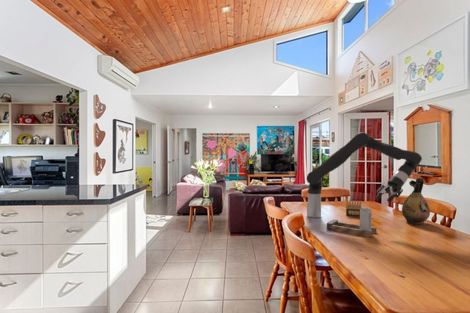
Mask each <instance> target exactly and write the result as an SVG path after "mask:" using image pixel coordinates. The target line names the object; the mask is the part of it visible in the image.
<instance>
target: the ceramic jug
mask: <svg viewBox="0 0 470 313" xmlns="http://www.w3.org/2000/svg"><path fill="white" fill-rule="evenodd" d="M424 182H425V181H424V178H422V177H417V178H416V179H415V180H413V179H412V180H410V181H409V183H408V184H409V186H410V187H412V188H413V191H412V192H411V193H410V194H409V195H408V196H407V197H406V199H404V201H403V203H402V207H401V213H402V216H403V217H404V218H405V220H406V221H405V222H406V223H407V224H411V225H412V224H413V225H418V224H420V225H424V223H425V222H426V221H427V220H428V219H429V217H430V216H431V215H430V214H431V209H430V206H429V203H428V201H427V200H426V199H425V197H424V195H423V194H422V191H423V188H424Z"/></svg>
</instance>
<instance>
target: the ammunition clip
mask: <svg viewBox="0 0 470 313" xmlns="http://www.w3.org/2000/svg"><path fill="white" fill-rule="evenodd" d="M361 207H363V206H362V201H361V200H357V201H356V199H355V200H353V199H352V200H351V199H349V200H348V199H346V206H345V215H346V216H347V217H358V218H360V209H361Z"/></svg>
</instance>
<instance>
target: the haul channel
mask: <svg viewBox="0 0 470 313" xmlns="http://www.w3.org/2000/svg"><path fill="white" fill-rule="evenodd" d="M377 229H378V228H377V227H374V226H371V231H366V230H360V224H357V223H356V224H355V223H348V222H343V221H342V222H341V221H339V219H334V218H333V219H331V220H330V221H328V222H326V231H327V230H328V231H331V232H332V231H333V232H338V233H344V234H348V235H349V234H350V235H354V236H360V237H367V238H373V234H377Z"/></svg>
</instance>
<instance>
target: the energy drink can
mask: <svg viewBox="0 0 470 313" xmlns="http://www.w3.org/2000/svg"><path fill="white" fill-rule="evenodd" d="M359 225H360V230H366V231H371V227H372V209H371V207H368V206H362V207H361V209H360V217H359Z"/></svg>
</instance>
